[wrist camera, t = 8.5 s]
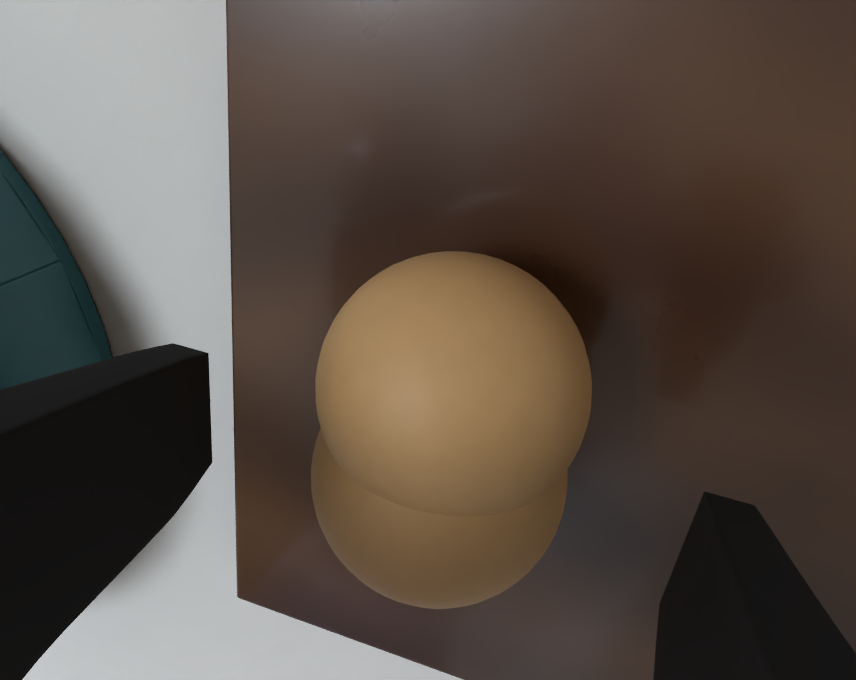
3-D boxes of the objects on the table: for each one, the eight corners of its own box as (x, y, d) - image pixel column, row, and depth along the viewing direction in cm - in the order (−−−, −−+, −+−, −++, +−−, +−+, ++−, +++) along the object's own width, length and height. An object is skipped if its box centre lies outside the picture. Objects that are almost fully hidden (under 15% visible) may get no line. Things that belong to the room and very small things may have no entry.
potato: (554, 523, 13) (515, 708, 9) (360, 464, 14) (261, 615, 10) (630, 248, 10) (614, 365, 7) (385, 197, 11) (262, 278, 8)
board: (826, 761, 15) (838, 817, 14) (260, 564, 18) (235, 598, 17) (1777, -651, 6) (2033, -804, 5) (265, -572, 9) (211, -655, 8)
